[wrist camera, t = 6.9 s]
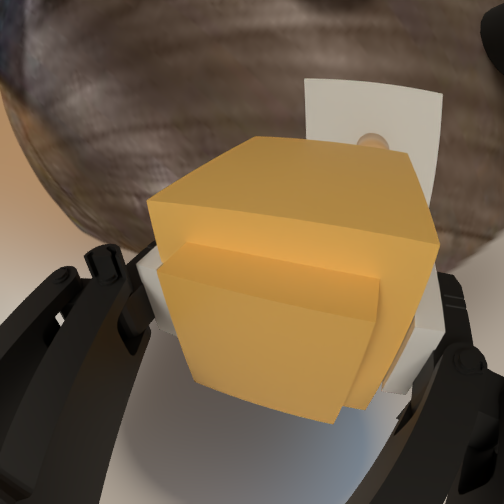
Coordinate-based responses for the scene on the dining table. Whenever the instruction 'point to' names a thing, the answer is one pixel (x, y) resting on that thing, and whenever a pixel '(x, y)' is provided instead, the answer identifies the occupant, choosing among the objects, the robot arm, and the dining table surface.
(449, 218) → the dining table surface
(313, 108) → the post plate
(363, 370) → the orange block
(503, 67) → the wine bottle
